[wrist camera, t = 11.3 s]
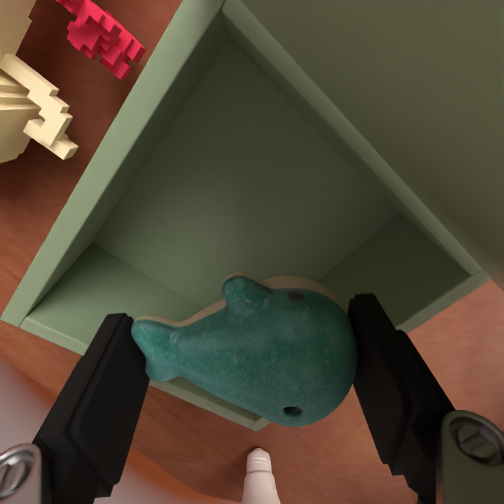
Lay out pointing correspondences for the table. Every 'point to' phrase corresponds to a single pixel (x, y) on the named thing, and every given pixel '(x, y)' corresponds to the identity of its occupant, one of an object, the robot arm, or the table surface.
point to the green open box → (232, 200)
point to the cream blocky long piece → (42, 91)
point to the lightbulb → (259, 480)
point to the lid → (415, 97)
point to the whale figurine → (260, 348)
